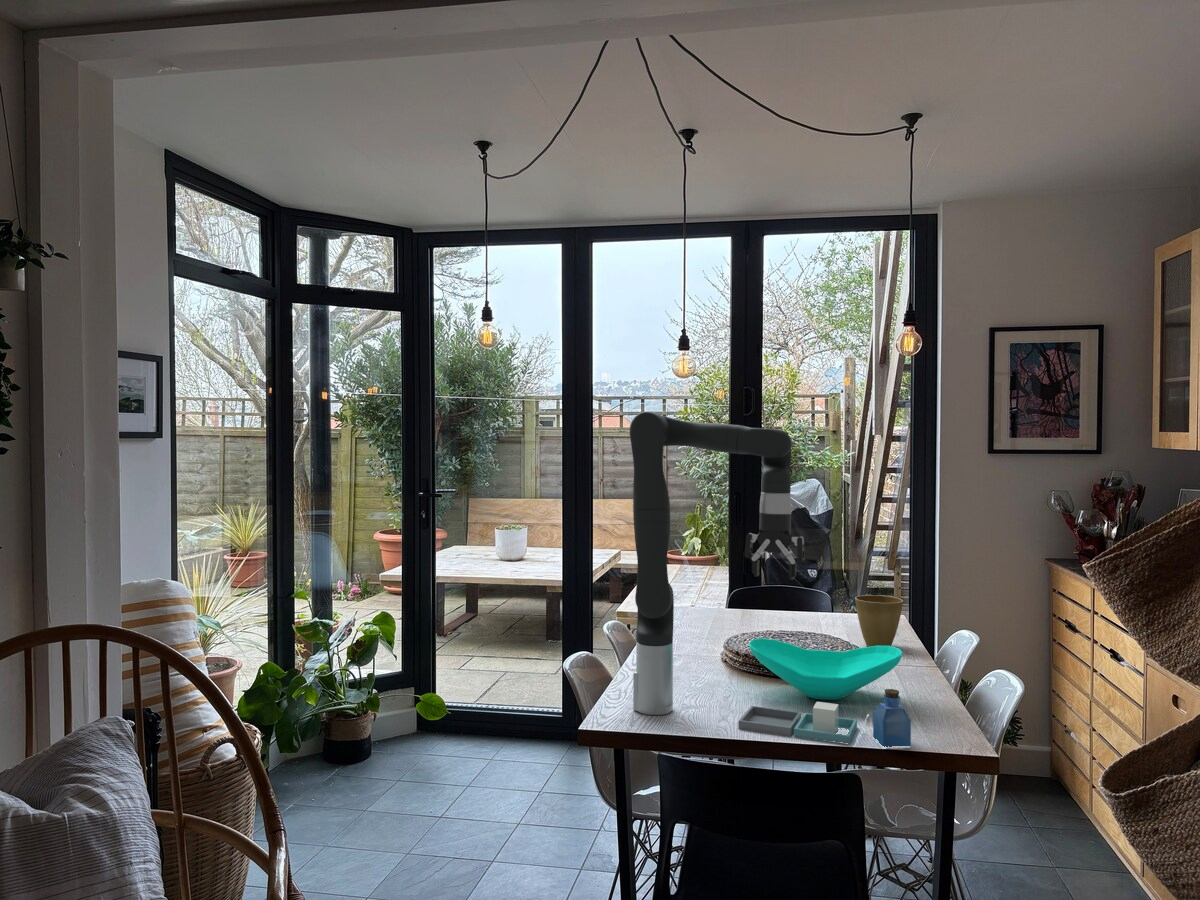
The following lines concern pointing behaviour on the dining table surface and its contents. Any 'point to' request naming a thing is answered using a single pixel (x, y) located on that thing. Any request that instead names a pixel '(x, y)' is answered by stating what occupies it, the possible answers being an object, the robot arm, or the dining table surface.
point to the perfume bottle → (891, 721)
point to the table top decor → (825, 667)
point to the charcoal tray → (769, 720)
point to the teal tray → (806, 731)
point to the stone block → (825, 717)
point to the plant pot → (878, 618)
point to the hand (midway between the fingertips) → (773, 577)
